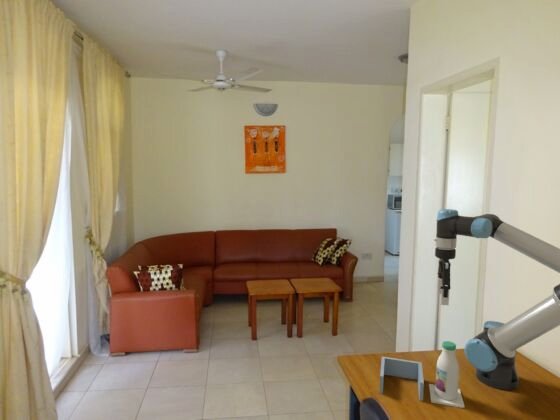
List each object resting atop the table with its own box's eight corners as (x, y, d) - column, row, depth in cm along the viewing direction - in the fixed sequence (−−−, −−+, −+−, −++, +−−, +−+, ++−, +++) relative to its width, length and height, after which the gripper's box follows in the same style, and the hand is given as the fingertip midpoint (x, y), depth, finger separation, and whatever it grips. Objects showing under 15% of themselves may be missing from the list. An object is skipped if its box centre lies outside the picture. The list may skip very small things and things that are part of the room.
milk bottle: (454, 389, 144) (457, 339, 141) (459, 402, 136) (463, 349, 134) (433, 387, 145) (435, 337, 143) (437, 399, 138) (440, 347, 135)
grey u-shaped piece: (420, 378, 152) (421, 362, 152) (422, 401, 138) (423, 383, 137) (381, 372, 157) (381, 356, 156) (379, 393, 142) (380, 375, 142)
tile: (459, 390, 144) (459, 388, 144) (464, 408, 134) (464, 406, 134) (428, 385, 148) (428, 383, 147) (431, 402, 137) (431, 400, 137)
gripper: (432, 241, 164) (430, 288, 166) (438, 253, 140) (435, 308, 143) (451, 242, 162) (448, 290, 164) (460, 255, 138) (457, 311, 140)
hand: (442, 299), depth 153 cm, fingers open, 13 cm apart
